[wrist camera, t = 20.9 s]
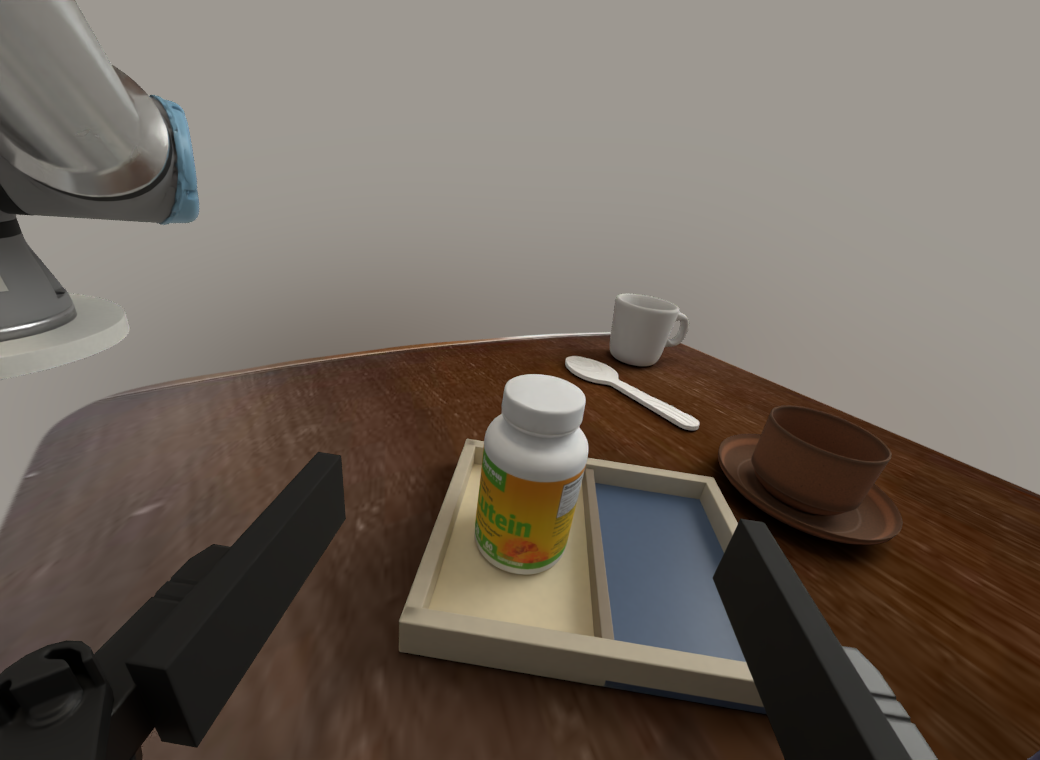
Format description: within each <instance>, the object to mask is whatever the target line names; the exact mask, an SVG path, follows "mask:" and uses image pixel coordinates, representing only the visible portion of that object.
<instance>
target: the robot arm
mask: <svg viewBox="0 0 1040 760" xmlns="http://www.w3.org/2000/svg"><path fill="white" fill-rule="evenodd" d="M16 214H19V215H42V216H58V217H74V218H91V219H107V220H122V221H123V220H124V221H138V222H156V223H159V224H164V225H165V224H169V223H189V222H192V221H194V220H195V219H196V218H197V217H198V214H199V199H198V192H197V180H196V171H195V165H194V157H193V150H192V144H191V139H190V133H189V128H188V123H187V120H186V118H185V113H184V111H183V109H182V108H181V107H180V106H179V105H178V104H176V103H174V102H172V101H168V100H164V99H162V98H161V97H159V96H155V95H150V96H148V95H147V94H146V92H145V91H144V90H143V89H142V88H141V87H140V86H139V85H138V84H137V83H136V82H135V81H133V80H132V79H131V78H130V77H129V76H127V75H126V74H125V73H123V72H122V71H121V70H119V69H118V68H116V67H115V66H113V65H111V63H110V61H109V60H108V58H107V56H106V54H105V52H104V51H103V49H102V47H101V45H100V44H99V42H98V40H97V38H96V36H95V35H94V33H93V31H92V29H91V28H90V26H89V24H88V23H87V21H86V19H85V17H84V15H83V13H82V12H81V10H80V8H79V6H78V5H77V3H76V1H75V0H0V342H4V341H9V340H15V339H19V338H24V337H28V336H33V335H36V334H40V333H44V332H47V331H50V330H53V329H56V328H58V327H61V326H63V325H65V324H67V323H69V322H71V321H72V320H73V319H74V318H75V317H76V316H77V312H76V309H75V306H74V303H73V301H72V299H71V297H70V295H69V294H68V292H67V291H66V290H65V289H64V288H63V287H62V286H61V284H60V283H59V282H58V280H57V279H56V278H55V277H54V275H53V274H52V273H51V272H50V271H49V269H48V268H47V267H46V266H45V265H44V263H43V262H42V261H41V260H40V259H39V258H38V256H37V255H36V254H35V253H34V252H33V250H32V249H31V248H30V247H29V245H28V244H27V243H26V241H25V239H24V237H23V234H22V232H21V229H20V227H19V224H18V221H17V219H16ZM345 519H346V517H345V504H344V490H343V476H342V462H341V456H340V455H334V454H328V453H321V452H318V453H317V454H316V455H315V456H314V457H313V458H312V459H311V460H310V461H309V463H308V464H307V465H306V466H305V467H304V468H303V469H302V470H301V471H300V472H299V473H298V475H297V476H296V477H295V478H294V479H293V480H292V481H291V482H290V483H289V484H288V485H287V486H286V488H285V489H284V490H283V491H282V492H281V493H280V494H279V495H278V496H277V497H276V498H275V500H274V501H273V502H272V503H271V504H270V505H269V506H268V507H267V508H266V509H265V510H264V511H263V513H262V514H261V515H260V516H259V517H258V518H257V519H256V520H255V521H254V522H253V523H252V525H251V526H250V527H249V528H248V529H247V530H246V531H245V532H244V533H243V534H242V535H241V536H240V538H239V539H238V540H237V541H236V542H235V543H234V544H233V545H232V546H231V547H228V546H222V545H215V544H213V545H211V546H210V547H208V548H206V549H205V550H203V551H202V552H200V553H198V554H197V555H195V556H194V557H192V558H190V559H189V560H188V561H187V562H186V563H185V564H184V565H183V566H182V567H181V568H180V569H179V570H178V571H177V572H176V573H175V574H174V575H173V576H172V577H171V580H170V581H167V582H166V583H165V584H164V585H163V586H162V587H161V588H160V589H159V590H158V591H157V592H156V594H155V596H154V597H151V598H150V599H149V600H148V601H147V602H146V603H145V604H144V605H143V606H142V607H141V608H140V609H139V610H138V611H137V612H136V613H135V614H134V615H133V616H132V617H131V618H130V619H129V620H128V621H127V622H126V623H125V624H124V625H123V626H122V627H121V628H120V629H119V630H118V631H117V632H116V633H115V634H114V635H113V636H112V637H111V638H110V639H109V640H108V641H107V642H106V643H105V644H104V645H103V646H102V647H101V648H100V649H99V650H98V651H97V652H96V653H95V654H93V652H92V650H91V648H90V647H89V646H88V645H86V644H85V643H83V642H82V641H63V642H59V643H55V644H51V645H47V646H45V647H43V648H41V649H39V650H36V651H34V652H32V653H30V654H28V655H26V656H24V657H23V658H21V659H20V660H18V661H17V662H15V663H14V664H12V665H11V666H9V667H8V668H6V669H5V670H4V671H3V672H2V673H1V674H0V760H142V749H141V745H142V743H143V742H144V741H145V739H146V738H147V737H148V735H149V734H150V733H151V731H152V730H153V729H154V727H155V728H156V730H157V732H158V734H159V736H160V739H161V741H163V742H169V743H174V744H180V745H186V746H191V747H198V745H199V744H200V742H201V741H202V739H203V738H204V736H205V735H206V733H207V731H208V730H209V728H210V727H211V725H212V724H213V722H214V721H215V719H216V718H217V716H218V715H219V713H220V711H221V710H222V708H223V707H224V705H225V704H226V702H227V701H228V699H229V698H230V696H231V694H232V693H233V691H234V690H235V688H236V687H237V685H238V684H239V682H240V681H241V679H242V678H243V676H244V674H245V673H246V671H247V670H248V668H249V667H250V665H251V664H252V662H253V661H254V659H255V657H256V656H257V654H258V653H259V651H260V650H261V648H262V647H263V645H264V644H265V642H266V641H267V639H268V637H269V636H270V634H271V633H272V631H273V630H274V628H275V627H276V625H277V624H278V622H279V621H280V619H281V617H282V616H283V614H284V613H285V611H286V610H287V608H288V607H289V605H290V604H291V602H292V600H293V599H294V597H295V596H296V594H297V593H298V591H299V590H300V588H301V587H302V585H303V584H304V582H305V580H306V579H307V577H308V576H309V574H310V573H311V571H312V570H313V568H314V567H315V565H316V563H317V562H318V560H319V559H320V557H321V556H322V554H323V553H324V551H325V550H326V548H327V547H328V545H329V543H330V542H331V540H332V539H333V537H334V536H335V534H336V533H337V531H338V530H339V528H340V526H341V525H342V523H343V522H344V520H345ZM713 581H714V583H715V586H716V588H717V591H718V593H719V596H720V598H721V601H722V603H723V606H724V608H725V611H726V613H727V616H728V618H729V621H730V623H731V626H732V628H733V631H734V633H735V636H736V638H737V641H738V643H739V646H740V648H741V651H742V653H743V656H744V658H745V661H746V663H747V666H748V668H749V671H750V673H751V676H752V678H753V681H754V683H755V686H756V688H757V691H758V693H759V696H760V698H761V701H762V703H763V706H764V708H765V711H766V713H767V716H768V718H769V721H770V723H771V726H772V728H773V731H774V733H775V736H776V738H777V741H778V743H779V746H780V748H781V751H782V753H783V756H784V758H785V760H938V759H937V757H936V756H935V754H934V753H933V751H932V750H931V748H930V747H929V745H928V744H927V742H926V741H925V739H924V738H923V736H922V735H921V733H920V732H919V730H918V729H917V727H916V726H915V724H913V723H911V721H910V717H909V715H908V714H907V712H906V711H905V709H904V708H903V707H902V705H901V704H900V702H897V700H896V696H895V695H894V693H893V692H892V690H891V689H890V687H889V686H888V684H887V683H886V681H885V680H884V678H883V677H882V675H881V674H880V672H879V671H878V670H877V669H876V668H875V667H874V666H873V665H872V664H871V663H870V662H869V661H868V660H867V659H866V658H865V657H864V656H863V655H862V654H861V653H860V652H859V651H858V650H857V649H856V648H850V647H844V646H841V645H840V643H839V641H838V640H837V638H836V637H835V635H834V633H833V632H832V630H831V629H830V627H829V625H828V624H827V622H826V621H825V619H824V617H823V616H822V614H821V612H820V611H819V609H818V608H817V606H816V604H815V603H814V601H813V600H812V598H811V596H810V595H809V593H808V592H807V590H806V588H805V587H804V585H803V584H802V582H801V580H800V579H799V577H798V576H797V574H796V572H795V571H794V569H793V568H792V566H791V564H790V563H789V561H788V560H787V558H786V556H785V555H784V553H783V552H782V550H781V548H780V547H779V545H778V544H777V542H776V540H775V539H774V537H773V536H772V534H771V532H770V531H769V529H768V528H767V526H766V524H765V523H764V522H758V521H752V520H745V519H740V521H739V523H738V525H737V527H736V529H735V531H734V533H733V536H732V538H731V540H730V542H729V544H728V546H727V548H726V550H725V552H724V554H723V557H722V559H721V561H720V563H719V565H718V567H717V569H716V571H715V573H714V576H713Z"/></svg>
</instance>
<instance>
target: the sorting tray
mask: <svg viewBox="0 0 1040 760" xmlns="http://www.w3.org/2000/svg"><path fill="white" fill-rule="evenodd" d="M483 447H484V441H477V440H471V439H466V442H465V445H464V448H463V450H462V453H461V456H460V458H459V461H458V464H457V467H456V469H455V472H454V475H453V477H452V480H451V483H450V485H449V488H448V491H447V493H446V496H445V499H444V501H443V504H442V507H441V510H440V512H439V515H438V518H437V520H436V523H435V526H434V528H433V531H432V534H431V536H430V539H429V542H428V544H427V547H426V550H425V552H424V555H423V558H422V561H421V563H420V566H419V569H418V571H417V574H416V577H415V579H414V582H413V585H412V587H411V590H410V593H409V595H408V598H407V601H406V603H405V606H404V609H403V612H402V614H401V617H400V620H399V651H400V652H404V653H410V654H416V655H422V656H428V657H433V658H439V659H445V660H451V661H457V662H463V663H469V664H474V665H480V666H486V667H492V668H498V669H504V670H510V671H515V672H521V673H527V674H533V675H539V676H545V677H551V678H557V679H562V680H568V681H574V682H580V683H586V684H592V685H598V686H603V687H609V688H615V689H621V690H627V691H633V692H639V693H644V694H650V695H656V696H662V697H668V698H674V699H680V700H686V701H691V702H697V703H703V704H709V705H715V706H721V707H727V708H732V709H738V710H744V711H750V712H756V713H762V714H767V713H766V711H765V708H764V706H763V703H762V701H761V698H760V696H759V693H758V691H757V688H756V686H755V683H754V681H753V678H752V676H751V673H750V671H749V668H748V666H747V663H746V661H745V658H744V656H743V653H742V651H741V648H740V646H739V643H738V641H737V638H736V636H735V633H734V631H733V628H732V626H731V623H730V621H729V618H728V616H727V613H726V611H725V608H724V606H723V603H722V601H721V598H720V596H719V593H718V591H717V588H716V586H715V583H714V581H713V576H714V573H715V571H716V569H717V567H718V565H719V563H720V561H721V559H722V557H723V554H724V552H725V550H726V548H727V546H728V544H729V542H730V540H731V538H732V536H733V533H734V531H735V529H736V527H737V525H738V522H737V521H736V519H735V517H734V515H733V513H732V511H731V510H730V508H729V506H728V504H727V502H726V500H725V498H724V497H723V495H722V493H721V491H720V489H719V487H718V486H717V483H716V481H715V479H714V478H713V477H707V476H700V475H694V474H687V473H681V472H675V471H668V470H662V469H656V468H649V467H643V466H637V465H630V464H624V463H617V462H611V461H605V460H598V459H592V458H587V462H586V466H585V471H584V475H583V479H582V483H581V487H580V491H579V495H578V500H577V504H576V508H575V512H574V516H573V520H572V524H571V528H570V533H569V537H568V541H567V544H566V548H565V551H564V553H563V555H562V557H561V558H560V559H559V561H558V562H557V563H556V564H555V565H553V566H552V567H551V568H549V569H547V570H546V571H543V572H540V573H536V574H529V575H523V574H514V573H510V572H507V571H504V570H502V569H500V568H497V567H496V566H494V565H493V564H491V563H490V562H489V561H488V560H487V559H486V558H485V557H484V556H483V555H482V553H481V552H480V550H479V548H478V546H477V544H476V540H475V520H476V511H477V503H478V494H479V485H480V477H481V467H482V457H483Z"/></svg>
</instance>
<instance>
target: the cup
mask: <svg viewBox="0 0 1040 760" xmlns="http://www.w3.org/2000/svg"><path fill="white" fill-rule="evenodd" d="M678 320H680V328H679V331H678V333H677V335H676V336H675V337H674V338H672V339H668V337H669V335H670V333H671V330H672V328H673V325H674V323H675V322H676V321H678ZM688 329H689V320H688V318H687V316H685V315H684V314H682V313H680V312H679V307H678V306H677V305H675V304H673V303H671V302H669V301H666V300H662V299H659V298H655V297H651V296H646V295H639V294H620V295H618V296H617V297H616V299H615V306H614V314H613V322H612V330H611V338H610V352H611V354H612V355H613V357H614V358H616V359H617V360H619V361H621V362H623V363H626V364H630V365H634V366H650V365H653V364H655V363H656V362H657V361H658V360H659V358H660V356H661V354H662V352H663V349H664V347H671V346H676V345H678V344H680V343H681V342H682V341H683V339H684V338H685V336H686V334H687V332H688Z"/></svg>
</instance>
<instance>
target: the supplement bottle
mask: <svg viewBox="0 0 1040 760" xmlns="http://www.w3.org/2000/svg"><path fill="white" fill-rule="evenodd" d="M585 402H586V401H585V395H584V394H583V392H582V391H581V390H580V389H579V388H578V387H577V386H575V385H574V384H572V383H570V382H568V381H565V380H563V379H560V378H557V377H553V376H547V375H540V374H528V375H521V376H518V377H515V378H512V379H511V380H509V381H508V382H507V384H506V386H505V388H504V395H503V401H502V414H501V415H499V416H498V417H496V418H495V419H494V420H493V421H492V422H491V424H490V425H489V427H488V429H487V431H486V435H485V440H484V447H483V457H482V467H481V477H480V485H479V494H478V503H477V511H476V520H475V540H476V544H477V546H478V548H479V550H480V552H481V553H482V555H483V556H484V557H485V558H486V559H487V560H488V561H489V562H490V563H491V564H493V565H494V566H496V567H497V568H500V569H502V570H504V571H507V572H510V573H514V574H523V575H529V574H536V573H540V572H543V571H546V570H547V569H549V568H551V567H552V566H553V565H555V564H556V563H557V562H558V561H559V559H560V558H561V557H562V555H563V553H564V551H565V548H566V544H567V541H568V537H569V533H570V528H571V524H572V520H573V516H574V512H575V508H576V504H577V500H578V495H579V491H580V487H581V483H582V479H583V475H584V471H585V466H586V462H587V457H588V442H587V439H586V437H585V435H584V433H583V432H582V430H581V429H580V428H579V426H580V424H581V422H582V419H583V413H584V407H585Z"/></svg>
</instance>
